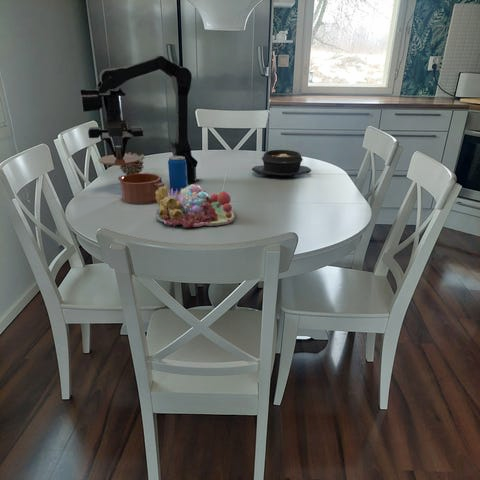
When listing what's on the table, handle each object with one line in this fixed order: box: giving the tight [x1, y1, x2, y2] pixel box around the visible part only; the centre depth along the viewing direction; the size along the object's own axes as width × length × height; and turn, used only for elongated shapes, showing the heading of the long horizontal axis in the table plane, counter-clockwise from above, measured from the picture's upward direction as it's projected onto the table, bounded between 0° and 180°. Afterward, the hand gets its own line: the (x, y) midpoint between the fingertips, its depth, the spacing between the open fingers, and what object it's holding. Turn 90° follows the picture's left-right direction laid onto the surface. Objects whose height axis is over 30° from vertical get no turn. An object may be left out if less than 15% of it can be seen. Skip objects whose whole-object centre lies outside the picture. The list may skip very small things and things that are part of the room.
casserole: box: [251, 149, 313, 178], centre depth 188 cm, size 25×19×8 cm
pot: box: [118, 172, 165, 205], centre depth 158 cm, size 14×19×7 cm
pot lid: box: [98, 145, 141, 166], centre depth 165 cm, size 15×15×5 cm
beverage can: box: [167, 155, 189, 194], centre depth 164 cm, size 6×6×12 cm
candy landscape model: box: [155, 183, 235, 229], centre depth 141 cm, size 25×24×9 cm
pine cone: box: [119, 151, 146, 175], centre depth 186 cm, size 22×10×10 cm, turn 177°
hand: (119, 157), depth 165 cm, fingers closed on pot lid, 3 cm apart
